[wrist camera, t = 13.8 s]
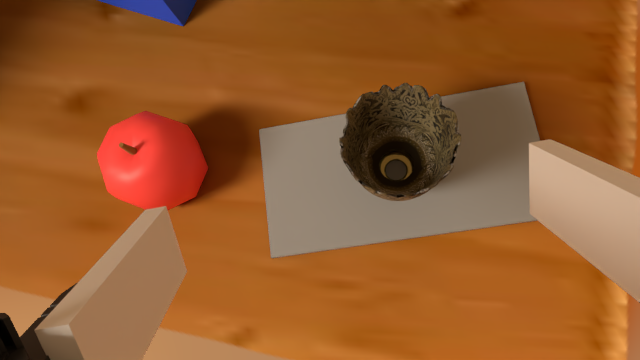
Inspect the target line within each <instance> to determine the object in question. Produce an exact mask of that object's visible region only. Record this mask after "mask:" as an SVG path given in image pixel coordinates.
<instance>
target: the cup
mask: <svg viewBox="0 0 640 360" xmlns="http://www.w3.org/2000/svg"><path fill="white" fill-rule="evenodd" d="M345 118H346V126H345V128H344V129H343V136H342V137H340V138H339V143H340V146H341V151H340V154H341V158H342V160H343V162H344V163H345V165H346V166H347V168H348V169H349V171H350V173H351V175H352V176H353V177H354V178H355V180H356V181H358V182H359V183H360V184H361V185H362V186H363V187H364V188H365V189H366V190H367V191H369V192H370V193H372V194H373V195H375V196H377V197H379V198H382V199H385V200H390V201H406V200H411V199H414V198H417V197H419V196H421V195H423V194H425V193H426V192H428V191H429V190H431V189H432V188H434V187H435V186H436V185H438V184H439V183H440V182H441V181H442V180H443V179H444V178H445V177H446V176H447V175H448V174H449V173H450V172H451V171H452V169H453V168H454V165H453V163H454V160H455V158H456V153H457V149H458V147H459V145H460V144H461V134H460V133H459V132H458V119H457V116H456V113H455V112H454V111H453V110H452V109H450V108H448V107H445V106H444V105H442V99H441V97H440V95H439V94H435V95H433V96H432V97H430V98H429V96H428V93H427V91H426V89H425V88H424V87H422V86H420V85H414V86H413V87H412V86H410V85H409V84H408V83H404V84H402V85H400V86H399V87H396V88H395V89H394V90H392V89H391V88H390V87H389V86H387V85H383V86H382V87H381V89H380V90H379V92H375V93H373V92H368V93H365V94H362V95H361V96H360V97H359V98H358V100H357V102H356V103H355V104H354V106H353V108H349V109H348V111H347V112H346V116H345ZM394 160H398V161H401V162H403V163H404V164H405V166H406V174H405V176H404V177H403V178H402V179H400V180H393V179H390V178H389V177H388V176H387V174H386V166H387V164H388V163H389V162H391V161H394Z"/></svg>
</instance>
